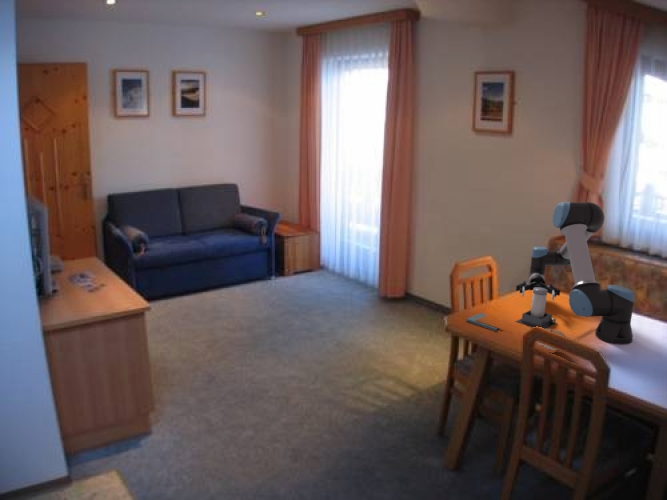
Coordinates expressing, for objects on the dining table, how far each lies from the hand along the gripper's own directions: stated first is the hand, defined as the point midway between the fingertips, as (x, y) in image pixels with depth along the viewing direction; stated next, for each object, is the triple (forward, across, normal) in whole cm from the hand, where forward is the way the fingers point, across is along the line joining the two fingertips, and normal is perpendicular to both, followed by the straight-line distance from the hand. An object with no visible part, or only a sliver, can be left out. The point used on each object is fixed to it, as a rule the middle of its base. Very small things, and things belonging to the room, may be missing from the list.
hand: (538, 295), depth 300 cm
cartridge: (+10, 0, -10) cm, 14 cm away
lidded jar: (+38, -5, -12) cm, 40 cm away
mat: (+15, +21, -12) cm, 28 cm away
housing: (+10, 0, -12) cm, 15 cm away
